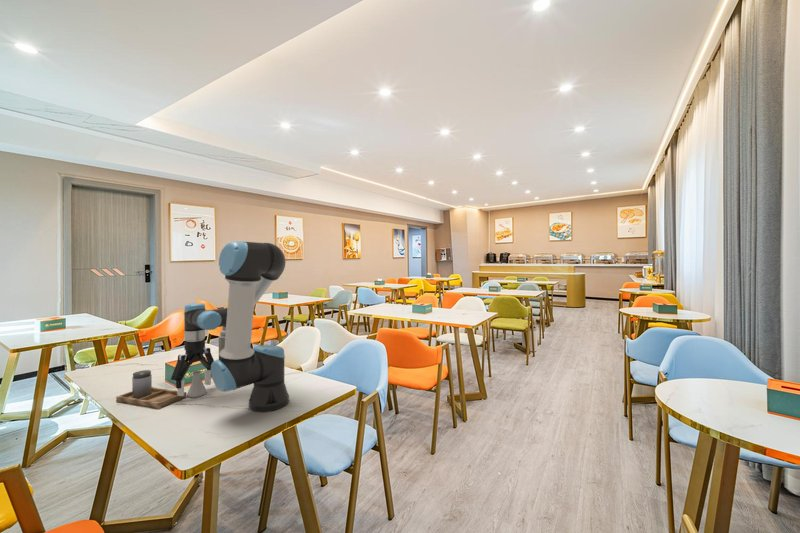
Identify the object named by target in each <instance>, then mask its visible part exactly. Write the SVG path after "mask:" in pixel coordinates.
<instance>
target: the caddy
mask: <svg viewBox="0 0 800 533" xmlns="http://www.w3.org/2000/svg"><path fill="white" fill-rule="evenodd" d="M186 398H187V391H184V396H177V390H174V389H167V388H161V387H154V386H152V394H151V395H148V396H145V397H143V398H140V399H135V398H132V390H131V391H129V392H126V393H124V394H120V395H117V396H116V397H115V402H116V403H120V404H125V405H131V406H137V407H141V408H143V407H144V408H148V409H154V410H160V409H163V408H165V407H167V406H169V405H172V404H175V403H177V402H179V401H182V400H184V399H186Z"/></svg>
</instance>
